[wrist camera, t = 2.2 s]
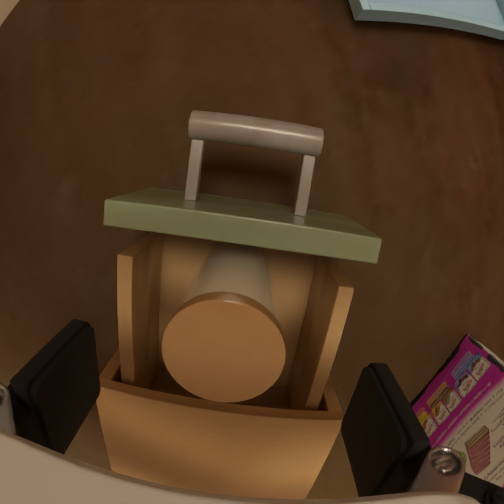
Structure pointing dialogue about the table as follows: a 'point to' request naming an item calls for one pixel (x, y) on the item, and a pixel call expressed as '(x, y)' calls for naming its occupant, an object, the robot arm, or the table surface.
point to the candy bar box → (468, 409)
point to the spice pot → (227, 328)
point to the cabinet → (214, 440)
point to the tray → (437, 14)
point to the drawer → (246, 233)
